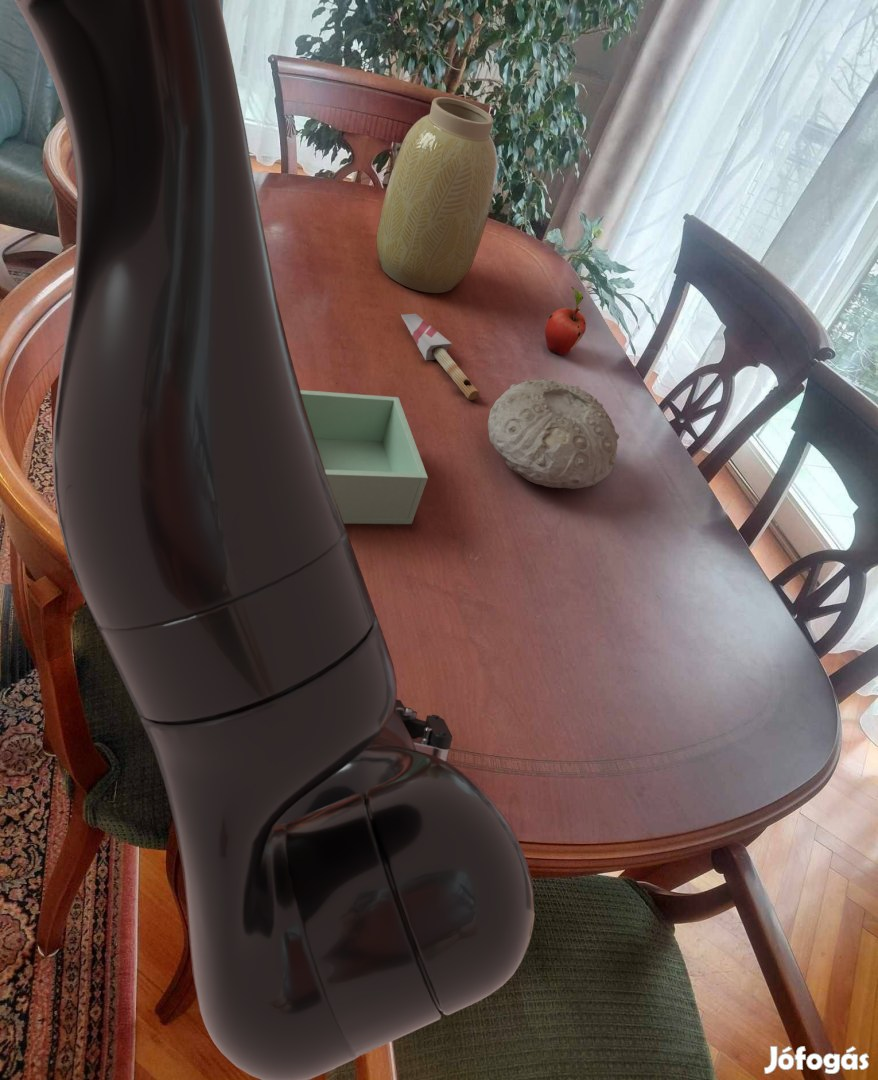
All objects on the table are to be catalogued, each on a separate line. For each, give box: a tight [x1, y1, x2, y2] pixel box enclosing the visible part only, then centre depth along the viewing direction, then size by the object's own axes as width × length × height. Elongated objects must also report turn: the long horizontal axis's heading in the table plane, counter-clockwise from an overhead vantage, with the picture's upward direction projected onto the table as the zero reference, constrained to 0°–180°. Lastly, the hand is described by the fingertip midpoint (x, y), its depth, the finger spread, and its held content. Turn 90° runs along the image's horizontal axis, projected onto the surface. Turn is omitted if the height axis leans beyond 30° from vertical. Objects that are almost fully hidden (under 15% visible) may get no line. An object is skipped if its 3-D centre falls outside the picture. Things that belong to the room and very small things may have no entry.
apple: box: [544, 286, 587, 356], centre depth 127 cm, size 8×7×10 cm
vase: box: [375, 96, 499, 294], centre depth 127 cm, size 17×17×27 cm
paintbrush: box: [400, 313, 480, 401], centre depth 117 cm, size 4×3×20 cm
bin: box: [300, 389, 429, 525], centre depth 90 cm, size 15×15×7 cm
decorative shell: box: [487, 378, 620, 490], centre depth 103 cm, size 18×18×10 cm
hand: (334, 701), depth 57 cm, fingers open, 8 cm apart
